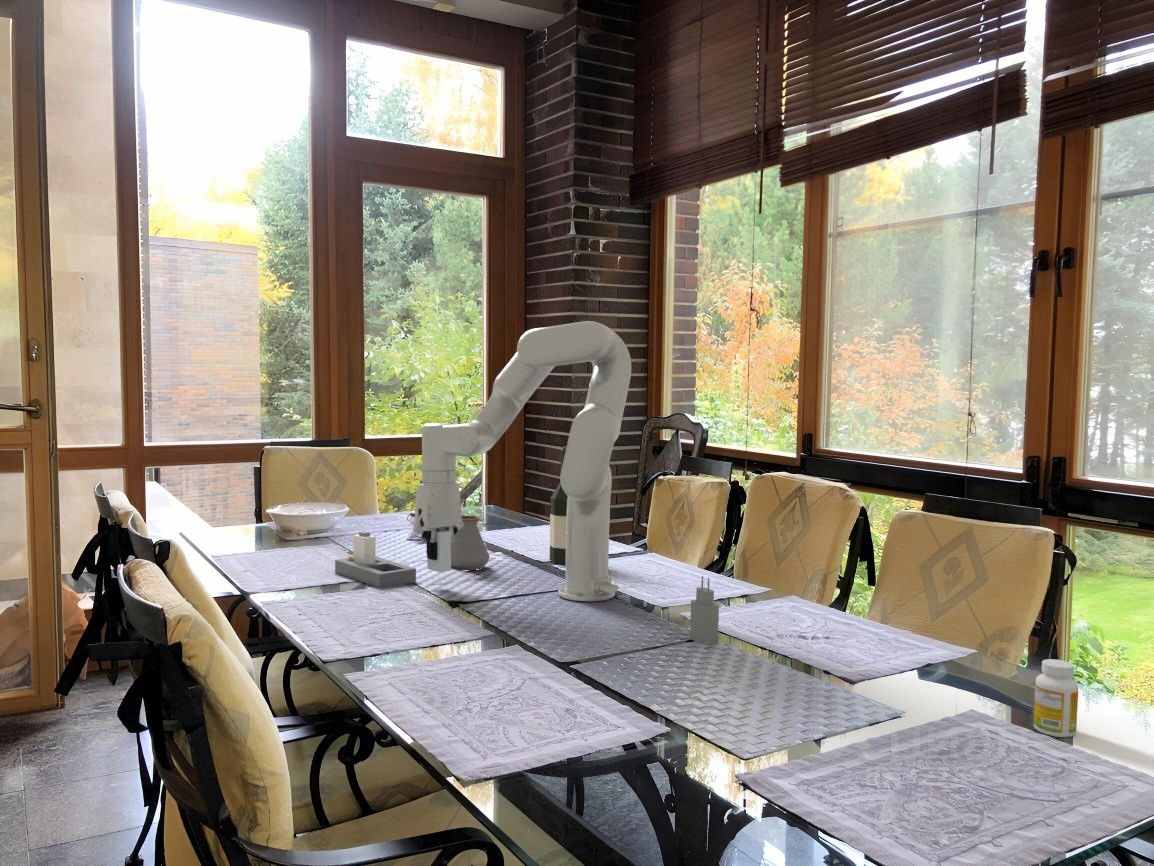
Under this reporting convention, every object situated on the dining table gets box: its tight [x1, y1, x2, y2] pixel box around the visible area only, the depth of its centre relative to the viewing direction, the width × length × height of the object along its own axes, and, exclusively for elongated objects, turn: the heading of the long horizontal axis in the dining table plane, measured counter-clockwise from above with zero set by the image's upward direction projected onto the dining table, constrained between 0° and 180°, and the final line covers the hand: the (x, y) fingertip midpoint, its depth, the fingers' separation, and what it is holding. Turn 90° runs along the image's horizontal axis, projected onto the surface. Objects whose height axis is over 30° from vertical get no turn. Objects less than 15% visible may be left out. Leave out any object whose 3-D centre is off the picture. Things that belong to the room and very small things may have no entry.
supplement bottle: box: [1033, 658, 1079, 738], centre depth 130 cm, size 5×5×10 cm
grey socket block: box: [334, 554, 417, 589], centre depth 214 cm, size 20×10×5 cm, turn 43°
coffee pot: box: [406, 512, 490, 571], centre depth 227 cm, size 21×12×15 cm, turn 123°
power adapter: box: [689, 575, 720, 646], centre depth 171 cm, size 3×5×12 cm, turn 30°
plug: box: [426, 528, 452, 573], centre depth 209 cm, size 5×3×10 cm, turn 43°
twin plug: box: [352, 530, 377, 565], centre depth 217 cm, size 5×3×10 cm, turn 43°
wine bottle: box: [549, 446, 568, 566], centre depth 239 cm, size 8×8×30 cm
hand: (439, 557), depth 209 cm, fingers closed on plug, 3 cm apart
